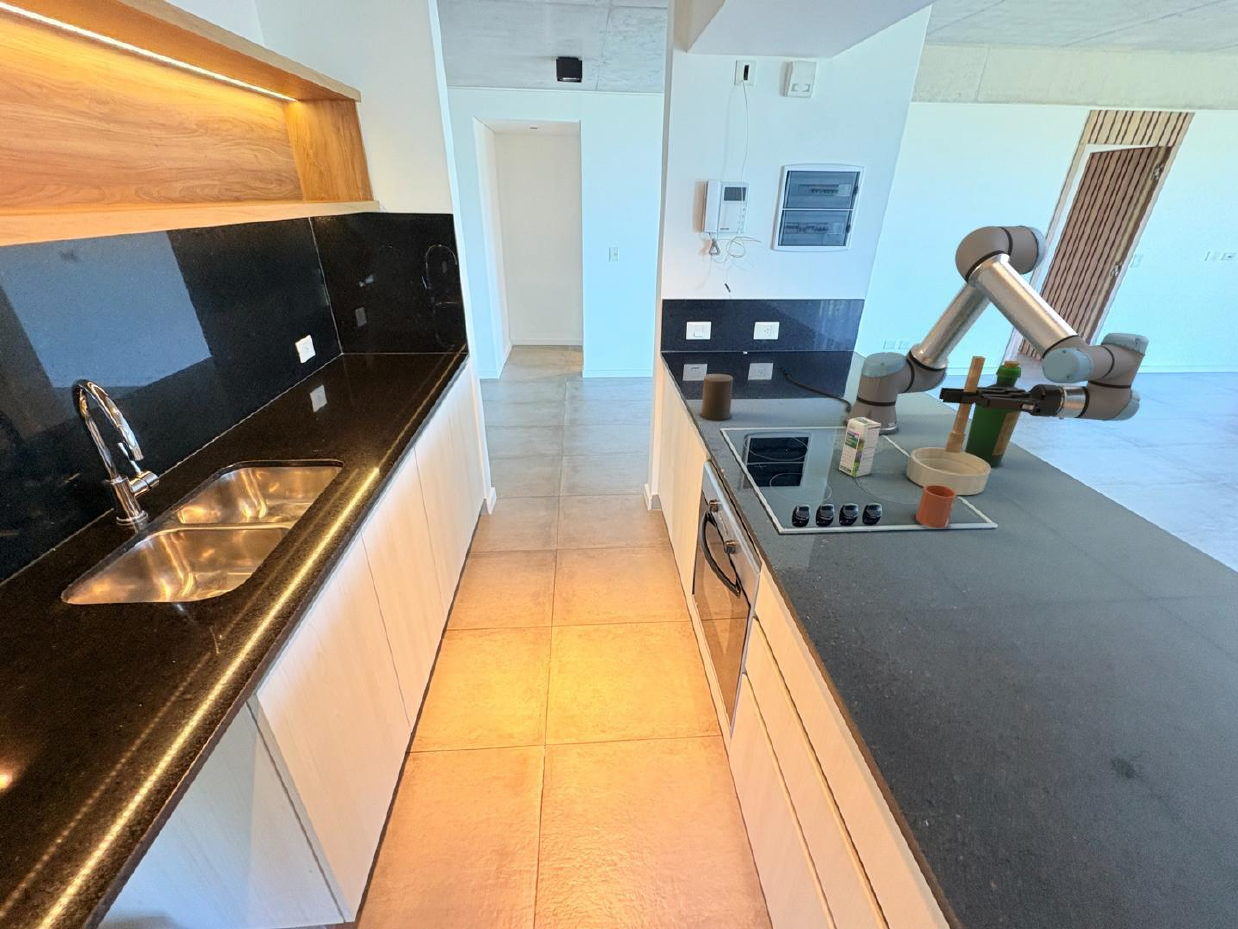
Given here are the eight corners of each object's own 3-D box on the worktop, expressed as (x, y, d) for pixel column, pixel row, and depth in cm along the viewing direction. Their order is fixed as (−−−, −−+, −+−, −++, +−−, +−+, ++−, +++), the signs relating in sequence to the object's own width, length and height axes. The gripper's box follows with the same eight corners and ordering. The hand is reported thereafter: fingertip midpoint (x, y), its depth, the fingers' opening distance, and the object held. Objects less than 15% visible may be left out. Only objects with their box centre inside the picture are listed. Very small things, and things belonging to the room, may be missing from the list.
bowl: (890, 470, 142) (895, 450, 140) (947, 464, 145) (952, 444, 143) (939, 501, 127) (945, 478, 124) (1001, 494, 130) (1008, 472, 127)
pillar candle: (717, 422, 176) (721, 378, 170) (695, 415, 183) (698, 373, 176) (735, 416, 182) (739, 373, 175) (713, 409, 188) (716, 368, 182)
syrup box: (837, 469, 143) (847, 419, 137) (854, 465, 145) (864, 415, 139) (854, 478, 138) (864, 426, 132) (870, 474, 140) (882, 422, 134)
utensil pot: (908, 517, 120) (917, 485, 116) (933, 514, 121) (941, 483, 118) (928, 531, 114) (937, 499, 111) (953, 528, 115) (963, 496, 112)
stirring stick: (946, 452, 132) (972, 357, 122) (943, 449, 134) (969, 355, 124) (961, 454, 131) (989, 358, 121) (958, 450, 133) (985, 356, 123)
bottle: (1011, 470, 142) (1046, 368, 130) (967, 467, 144) (998, 366, 132) (994, 455, 151) (1025, 358, 140) (953, 452, 153) (980, 356, 142)
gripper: (1065, 427, 118) (949, 419, 122) (1032, 406, 131) (929, 400, 136) (1077, 394, 115) (957, 388, 119) (1042, 376, 128) (936, 371, 133)
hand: (942, 395), depth 127 cm, fingers closed on stirring stick, 2 cm apart
